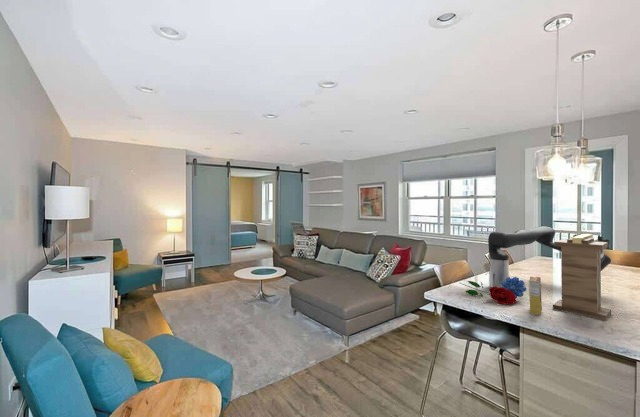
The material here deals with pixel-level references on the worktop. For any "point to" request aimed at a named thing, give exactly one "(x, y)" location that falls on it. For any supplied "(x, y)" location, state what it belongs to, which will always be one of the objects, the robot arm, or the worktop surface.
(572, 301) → the walnut post
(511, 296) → the flower
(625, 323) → the worktop surface
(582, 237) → the bar
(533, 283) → the candy box
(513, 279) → the grapes
